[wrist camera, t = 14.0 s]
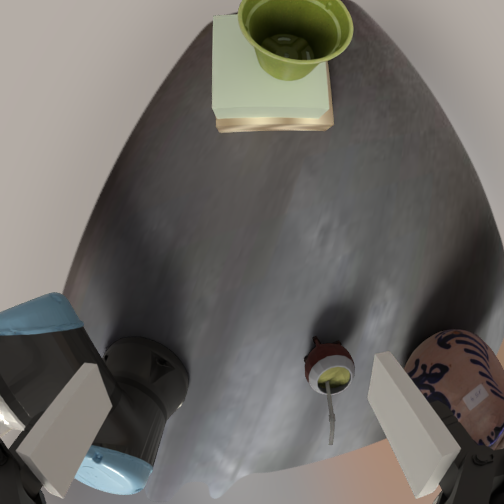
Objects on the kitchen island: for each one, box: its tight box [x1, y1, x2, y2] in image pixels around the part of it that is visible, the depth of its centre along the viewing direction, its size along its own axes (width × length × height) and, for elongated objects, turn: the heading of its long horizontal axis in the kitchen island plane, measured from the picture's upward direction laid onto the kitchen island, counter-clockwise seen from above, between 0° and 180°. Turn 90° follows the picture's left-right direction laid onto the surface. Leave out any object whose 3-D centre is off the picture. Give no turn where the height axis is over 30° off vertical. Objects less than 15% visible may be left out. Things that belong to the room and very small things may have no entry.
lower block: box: [216, 61, 334, 133], centre depth 34 cm, size 14×14×5 cm
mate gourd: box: [304, 336, 355, 445], centre depth 37 cm, size 8×8×15 cm
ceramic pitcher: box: [404, 329, 504, 450], centre depth 33 cm, size 18×21×25 cm
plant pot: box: [238, 0, 353, 81], centre depth 22 cm, size 9×9×9 cm
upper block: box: [212, 14, 329, 119], centre depth 29 cm, size 12×12×5 cm
